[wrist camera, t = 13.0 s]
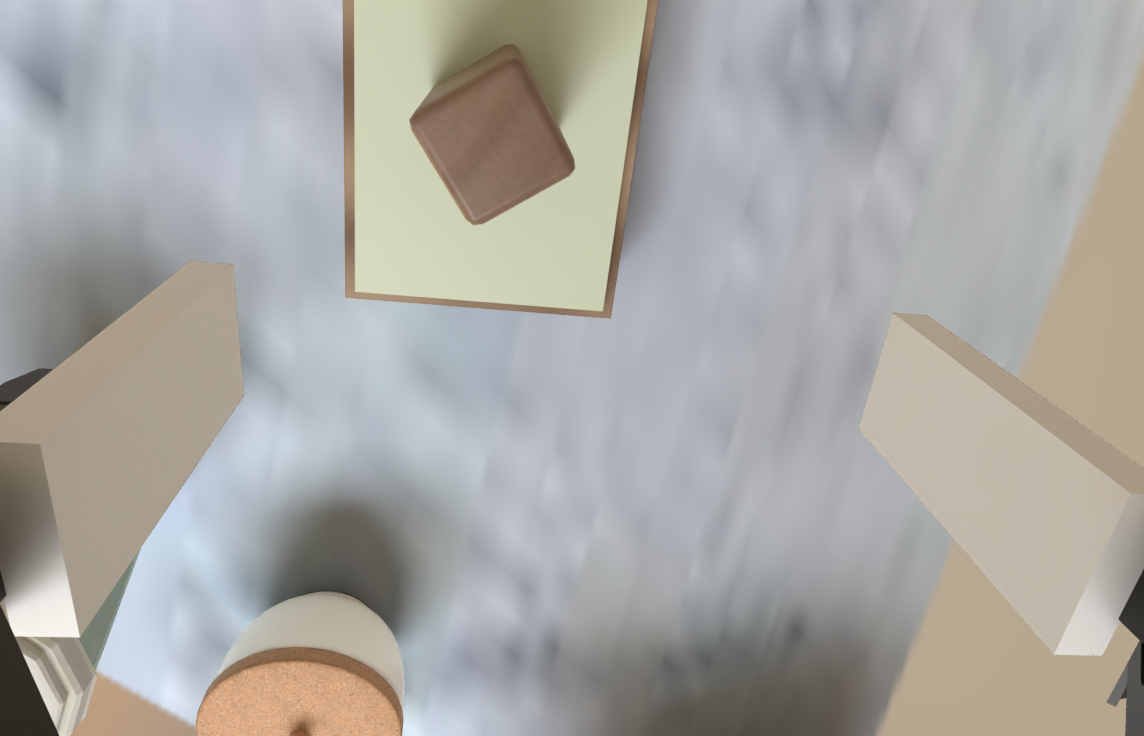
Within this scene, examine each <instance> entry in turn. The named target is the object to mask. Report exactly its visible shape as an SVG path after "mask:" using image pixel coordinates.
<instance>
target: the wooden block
mask: <svg viewBox="0 0 1144 736" xmlns="http://www.w3.org/2000/svg"><path fill="white" fill-rule="evenodd" d="M409 121H410V127H411V131H412V132H413V134H414V136H415V137H416V139H417V140H418V142H419V144H420V145H421V147H422V149H423V150H424V152H425V154H426V155H427V157H428V159H429V160H430V162H431V163H432V165H433V167H434V168H435V170H436V172H437V173H438V175H439V177H440V178H441V180H442V182H443V183H444V185H445V186H446V188H447V190H448V191H449V193H450V195H451V196H452V198H453V200H454V201H455V203H456V205H457V206H458V208H459V209H460V211H461V213H462V214H463V216H464V218H465V219H466V220H467V221H468V222H470V223H471V224H472V225H481V224H484V223H486V222H488V221H490V220H491V219H493V218H495V217H497V216H499V215H500V214H502V213H504V212H506V211H508V210H509V209H511V208H513V207H515V206H517V205H519V204H520V203H522V202H524V201H526V200H528V199H529V198H531V197H533V196H535V195H537V194H538V193H540V192H542V191H544V190H546V189H547V188H549V187H551V186H553V185H555V184H556V183H558V182H560V181H562V180H564V179H565V178H567V177H569V176H570V175H571V174H572V172H573V171H574V170H575V160H574V157H573V155H572V153H571V151H570V149H569V146H568V144H567V142H566V140H565V138H564V136H563V134H562V131H561V129H560V127H559V125H558V123H557V121H556V119H555V117H554V115H553V113H552V111H551V110H550V108H549V106H548V104H547V102H546V100H545V98H544V96H543V94H542V92H541V90H540V88H539V86H538V84H537V83H536V81H535V79H534V77H533V75H532V73H531V71H530V69H529V67H528V65H527V63H526V61H525V59H524V57H523V56H522V54H521V52H520V50H519V49H518V48H517V47H516V46H515V45H514V44H508V45H504V46H502V47H501V48H499V49H497V50H495V51H494V52H492V53H490V54H489V55H487V56H485V57H484V58H482V59H480V60H478V61H477V62H475V63H473V64H472V65H470V66H468V67H466V68H465V69H463V70H461V71H460V72H458V73H456V74H455V75H453V76H451V77H449V78H448V79H446V80H444V81H443V82H441V83H439V84H438V85H436V86H434V87H433V88H432V90H431V91H430V92H429V93H428V95H427V96H426V97H425V99H424V100H423V101H422V103H421V104H420V105H419V107H418V108H417V109H416V111H415V112H414V113H413V115H412V116H411V118H410V119H409Z"/></svg>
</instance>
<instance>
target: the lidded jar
mask: <svg viewBox="0 0 1144 736" xmlns="http://www.w3.org/2000/svg"><path fill="white" fill-rule="evenodd" d="M404 694H405V677H404V668H403V662H402V655H401V652H400V650H399V647H398V644H397V641H396V639H395V637H394V635H393V633H392V632H391V630H390V629H389V627H388V626H387V624H386V623H385V622H384V621H383V620H382V619H381V617H380V616H378V615H377V614H376V613H375V612H374V611H373V610H371V609H370V608H369V607H368V606H367V605H365V604H364V603H363V602H362V601H360V600H358V599H357V598H355V597H352V596H350V595H347V594H344V593H340V592H334V591H318V592H312V593H308V594H305V595H302V596H298V597H295V598H291V599H288V600H285V601H283V602H281V603H279V604H277V605H275V606H273V607H271V608H270V609H268V610H267V611H265V612H264V613H262V614H261V615H260V616H258V617H257V618H256V619H255V620H254V621H253V622H252V623H251V624H249V625H248V626H247V627H246V628H245V629H244V631H243V632H242V633H241V634H240V636H239V637H238V638H237V640H236V641H235V642H234V644H233V645H232V647H231V648H230V650H229V651H228V653H227V654H226V656H225V658H224V659H223V661H222V663H221V665H220V667H219V669H218V671H217V674H216V676H215V678H214V680H213V682H212V684H211V685H210V686H209V688H208V690H207V691H206V694H205V696H204V698H203V700H202V703H201V705H200V707H199V710H198V714H197V720H196V730H197V736H402V729H403V705H404Z"/></svg>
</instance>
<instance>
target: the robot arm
mask: <svg viewBox="0 0 1144 736" xmlns="http://www.w3.org/2000/svg"><path fill="white" fill-rule="evenodd" d="M243 396H244V391H243V379H242V366H241V353H240V340H239V328H238V315H237V302H236V289H235V277H234V264H223V263H210V262H196V261H190V262H189V263H188V264H186V265H185V266H184V267H182V268H181V269H180V270H179V271H177V272H176V273H175V274H174V275H172V276H171V277H170V278H169V279H167V280H166V281H165V282H163V283H162V284H161V285H160V286H158V287H157V288H156V289H155V290H153V291H152V292H151V293H150V294H148V295H147V296H146V297H144V298H143V299H142V300H141V301H139V302H138V303H137V304H136V305H134V306H133V307H132V308H131V309H129V310H128V311H127V312H125V313H124V314H123V315H122V316H120V317H119V318H118V319H117V320H115V321H114V322H113V323H112V324H110V325H109V326H108V327H106V328H105V329H104V330H103V331H101V332H100V333H99V334H98V335H96V336H95V337H94V338H93V339H91V340H90V341H89V342H88V343H86V344H85V345H84V346H82V347H81V348H80V349H79V350H77V351H76V352H75V353H74V354H72V355H71V356H70V357H69V358H67V359H66V360H65V361H63V362H62V363H61V364H60V365H58V366H57V367H56V368H55V369H37V370H35V371H32V372H30V373H27V374H25V375H22V376H20V377H17V378H15V379H12V380H10V381H7V382H5V383H3V384H2V385H1V386H0V602H1V601H2V600H3V599H4V602H5V606H6V610H7V614H8V618H9V622H10V625H9V622H8V620H7V618H6V616H5V614H4V611H3V609H2V607H1V605H0V736H59V734H58V731H57V729H56V727H55V725H54V723H53V720H52V718H51V716H50V714H49V711H48V709H47V707H46V705H45V702H44V700H43V698H42V696H41V694H40V691H39V689H38V687H37V685H36V682H35V680H34V678H33V676H32V674H31V671H30V669H29V667H28V665H27V662H26V660H25V658H24V656H23V654H22V651H21V649H20V647H19V645H18V642H17V640H16V638H15V636H23V637H79V638H80V637H81V635H82V634H83V632H84V631H85V629H86V628H87V626H88V625H89V623H90V622H91V621H92V619H93V618H94V616H95V615H96V613H97V612H98V610H99V609H100V607H101V606H102V604H103V603H104V601H105V600H106V598H107V597H108V595H109V594H110V592H111V591H112V590H113V588H114V587H115V585H116V584H117V582H118V581H119V579H120V578H121V576H122V575H123V573H124V572H125V570H126V569H127V567H128V566H129V564H130V563H131V561H132V560H133V559H134V557H135V556H136V554H137V553H138V551H139V550H140V548H141V547H142V545H143V544H144V542H145V541H146V539H147V538H148V536H149V535H150V533H151V532H152V530H153V529H154V528H155V526H156V525H157V523H158V522H159V520H160V519H161V517H162V516H163V514H164V513H165V511H166V510H167V508H168V507H169V505H170V504H171V502H172V501H173V499H174V498H175V497H176V495H177V494H178V492H179V491H180V489H181V488H182V486H183V485H184V483H185V482H186V480H187V479H188V477H189V476H190V474H191V473H192V471H193V470H194V468H195V467H196V466H197V464H198V463H199V461H200V460H201V458H202V457H203V455H204V454H205V452H206V451H207V449H208V448H209V446H210V445H211V443H212V442H213V440H214V439H215V437H216V436H217V435H218V433H219V432H220V430H221V429H222V427H223V426H224V424H225V423H226V421H227V420H228V418H229V417H230V415H231V414H232V412H233V411H234V409H235V408H236V406H237V405H238V404H239V402H240V401H241V399H242V398H243ZM859 430H860V431H861V432H862V433H863V435H864V436H865V437H866V438H867V439H868V440H869V441H870V443H871V444H872V445H873V446H874V447H875V448H876V450H877V451H878V452H879V453H880V454H881V455H882V457H883V458H884V459H885V460H886V461H887V462H888V463H889V465H890V466H891V467H892V468H893V469H894V470H895V472H896V473H897V474H898V475H899V476H900V477H901V479H902V480H903V481H904V482H905V483H906V484H907V485H908V487H909V488H910V489H911V490H912V491H913V492H914V494H915V495H916V496H917V497H918V498H919V499H920V500H921V502H922V503H923V504H924V505H925V506H926V507H927V509H928V510H929V511H930V512H931V513H932V514H933V516H934V517H935V518H936V519H937V520H938V521H939V522H940V524H941V525H942V526H943V527H944V528H945V529H946V531H947V532H948V533H949V534H950V535H951V536H952V537H953V539H954V540H955V541H956V542H957V543H958V544H959V546H960V547H961V548H962V549H963V550H964V551H965V553H966V554H967V555H968V556H969V557H970V558H971V559H972V561H973V562H975V564H976V565H977V566H978V568H979V569H980V570H981V571H982V572H983V573H984V574H985V575H986V577H987V578H988V579H989V580H990V581H991V583H992V584H993V585H994V586H995V587H996V588H997V589H998V591H999V592H1000V593H1001V594H1002V595H1003V596H1004V597H1005V599H1006V600H1007V601H1008V602H1009V603H1010V604H1011V606H1012V607H1013V608H1014V609H1015V610H1016V611H1017V613H1018V614H1019V615H1020V616H1021V617H1022V618H1023V620H1024V621H1025V622H1026V623H1027V624H1028V625H1029V627H1030V628H1031V629H1032V630H1033V631H1034V632H1035V633H1036V635H1038V637H1039V638H1040V639H1041V640H1042V642H1043V643H1044V644H1045V645H1046V646H1047V647H1048V649H1050V651H1051V652H1052V653H1053V654H1054V655H1101V656H1102V655H1103V652H1104V651H1105V649H1106V647H1107V645H1108V643H1109V641H1110V639H1111V637H1112V635H1113V633H1114V631H1115V629H1116V627H1117V626H1118V624H1119V622H1120V621H1121V622H1122V623H1123V624H1124V625H1125V626H1126V627H1127V628H1128V629H1129V630H1130V631H1131V632H1132V633H1133V634H1134V635H1135V636H1136V637H1137V638H1138V639H1139V640H1140V641H1139V643H1138V645H1137V646H1136V648H1135V650H1134V652H1133V654H1132V656H1131V658H1130V660H1129V661H1128V663H1127V665H1126V667H1125V669H1124V671H1123V673H1122V675H1121V676H1120V678H1119V680H1118V682H1117V684H1116V686H1115V688H1114V689H1113V691H1112V693H1111V695H1110V697H1109V699H1108V701H1107V703H1109V704H1111V705H1113V706H1116V705H1117V704H1118V702H1119V700H1120V699H1123V698H1127V701H1126V735H1125V736H1144V468H1143V467H1142V466H1140V465H1139V464H1138V463H1136V462H1135V461H1133V460H1132V459H1130V458H1129V457H1128V456H1126V455H1125V454H1123V453H1122V452H1120V451H1119V450H1117V449H1116V448H1115V447H1113V446H1112V445H1110V444H1109V443H1108V442H1106V441H1105V440H1104V439H1102V438H1101V437H1099V436H1098V435H1096V434H1095V433H1094V432H1092V431H1091V430H1089V429H1088V428H1086V427H1085V426H1084V425H1082V424H1081V423H1079V422H1078V421H1077V420H1075V419H1074V418H1072V417H1071V416H1069V415H1068V414H1066V413H1065V412H1064V411H1062V410H1061V409H1059V408H1058V407H1057V406H1055V405H1054V404H1052V403H1051V402H1050V401H1048V400H1047V399H1045V398H1044V397H1042V396H1041V395H1040V394H1038V393H1037V392H1035V391H1034V390H1033V389H1031V388H1030V387H1028V386H1027V385H1025V384H1024V383H1023V382H1021V381H1020V380H1018V379H1017V378H1015V377H1014V376H1013V375H1011V374H1010V373H1008V372H1007V371H1006V370H1004V369H1003V368H1001V367H1000V366H998V365H997V364H996V363H994V362H993V361H991V360H990V359H988V358H987V357H986V356H984V355H983V354H981V353H980V352H979V351H977V350H976V349H974V348H973V347H971V346H970V345H969V344H967V343H966V342H964V341H963V340H961V339H960V338H959V337H957V336H956V335H954V334H953V333H952V332H950V331H949V330H947V329H946V328H944V327H943V326H942V325H940V324H939V323H937V322H936V321H934V320H933V319H932V318H930V317H929V316H926V315H913V314H899V313H893V315H892V318H891V322H890V325H889V328H888V332H887V335H886V339H885V342H884V345H883V349H882V352H881V355H880V359H879V362H878V366H877V369H876V372H875V376H874V379H873V383H872V386H871V389H870V393H869V396H868V400H867V403H866V406H865V410H864V413H863V416H862V420H861V423H860V427H859ZM10 626H11V627H10Z"/></svg>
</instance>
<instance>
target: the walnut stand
mask: <svg viewBox="0 0 1144 736" xmlns="http://www.w3.org/2000/svg"><path fill="white" fill-rule="evenodd" d="M657 5H658V0H343V76H344V188H345V298H357V299H370V300H383V301H396V302H408V303H421V304H434V305H446V306H459V307H472V308H485V309H497V310H510V311H523V312H536V313H548V314H561V315H574V316H587V317H599V318H611V313H612V307H613V300H614V293H615V287H616V280H617V273H618V266H619V260H620V253H621V246H622V240H623V233H624V226H625V219H626V213H627V206H628V199H629V193H630V186H631V179H632V172H633V166H634V159H635V152H636V146H637V139H638V132H639V125H640V119H641V112H642V105H643V99H644V92H645V85H646V79H647V72H648V65H649V58H650V52H651V45H652V38H653V32H654V25H655V18H656V11H657ZM508 44H514V45H515V46H516V47H517V48H518V49H519V50H520V52H521V54H522V56H523V57H524V59H525V61H526V63H527V65H528V67H529V69H530V71H531V73H532V75H533V77H534V79H535V81H536V83H537V84H538V86H539V88H540V90H541V92H542V94H543V96H544V98H545V100H546V102H547V104H548V106H549V108H550V110H551V111H552V113H553V115H554V117H555V119H556V121H557V123H558V125H559V127H560V129H561V131H562V134H563V136H564V138H565V140H566V142H567V144H568V146H569V149H570V151H571V153H572V155H573V157H574V160H575V170H574V171H573V172H572V174H571V175H570V176H569V177H567V178H565V179H564V180H562V181H560V182H558V183H556V184H555V185H553V186H551V187H549V188H547V189H546V190H544V191H542V192H540V193H538V194H537V195H535V196H533V197H531V198H529V199H528V200H526V201H524V202H522V203H520V204H519V205H517V206H515V207H513V208H511V209H509V210H508V211H506V212H504V213H502V214H500V215H499V216H497V217H495V218H493V219H491V220H490V221H488V222H486V223H484V224H481V225H472V224H471V223H470V222H468V221H467V220H466V219H465V218H464V216H463V214H462V213H461V211H460V209H459V208H458V206H457V205H456V203H455V201H454V200H453V198H452V196H451V195H450V193H449V191H448V190H447V188H446V186H445V185H444V183H443V182H442V180H441V178H440V177H439V175H438V173H437V172H436V170H435V168H434V167H433V165H432V163H431V162H430V160H429V159H428V157H427V155H426V154H425V152H424V150H423V149H422V147H421V145H420V144H419V142H418V140H417V139H416V137H415V136H414V134H413V132H412V131H411V127H410V121H409V119H410V118H411V116H412V115H413V113H414V112H415V111H416V109H417V108H418V107H419V105H420V104H421V103H422V101H423V100H424V99H425V97H426V96H427V95H428V93H429V92H430V91H431V90H432V88H433V87H434V86H436V85H438V84H439V83H441V82H443V81H444V80H446V79H448V78H449V77H451V76H453V75H455V74H456V73H458V72H460V71H461V70H463V69H465V68H466V67H468V66H470V65H472V64H473V63H475V62H477V61H478V60H480V59H482V58H484V57H485V56H487V55H489V54H490V53H492V52H494V51H495V50H497V49H499V48H501V47H502V46H504V45H508Z"/></svg>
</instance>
